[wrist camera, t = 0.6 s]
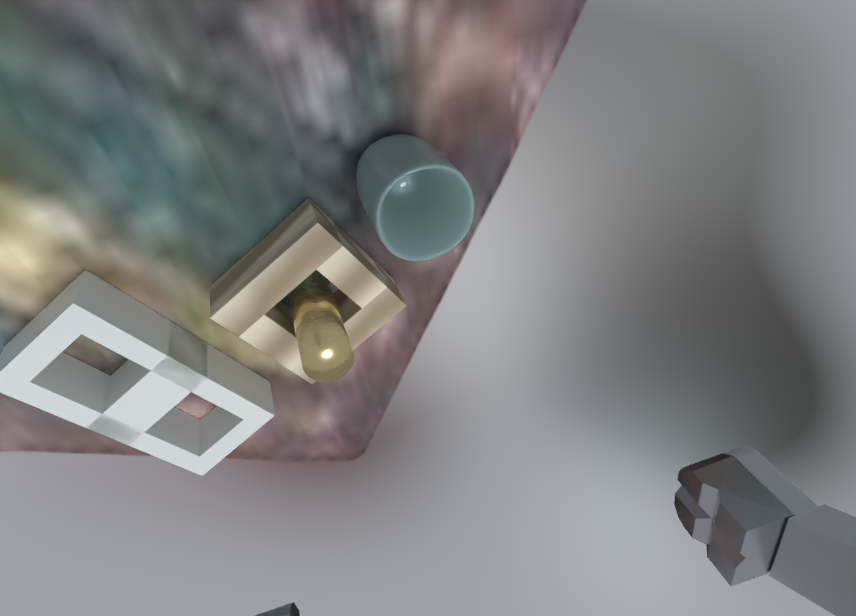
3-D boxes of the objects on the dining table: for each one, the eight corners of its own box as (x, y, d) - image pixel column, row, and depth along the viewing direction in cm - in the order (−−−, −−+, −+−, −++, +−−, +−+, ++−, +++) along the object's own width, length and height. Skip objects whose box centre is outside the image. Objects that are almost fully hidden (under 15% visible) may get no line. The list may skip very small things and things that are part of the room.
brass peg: (275, 283, 49) (291, 365, 40) (307, 255, 48) (330, 332, 39) (305, 306, 51) (327, 389, 42) (336, 280, 51) (364, 358, 42)
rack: (4, 346, 44) (-15, 385, 40) (85, 269, 43) (73, 303, 39) (202, 438, 56) (202, 475, 53) (269, 381, 55) (274, 415, 51)
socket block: (209, 286, 47) (210, 318, 43) (308, 197, 45) (317, 222, 41) (304, 352, 54) (312, 384, 51) (392, 278, 53) (406, 305, 49)
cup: (421, 110, 44) (466, 148, 37) (439, 192, 49) (482, 241, 41) (334, 140, 43) (362, 186, 36) (361, 220, 48) (391, 276, 40)
